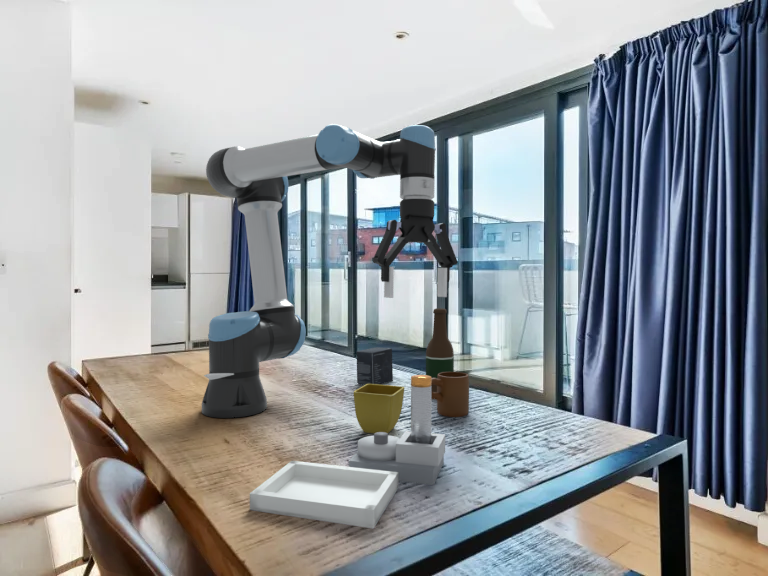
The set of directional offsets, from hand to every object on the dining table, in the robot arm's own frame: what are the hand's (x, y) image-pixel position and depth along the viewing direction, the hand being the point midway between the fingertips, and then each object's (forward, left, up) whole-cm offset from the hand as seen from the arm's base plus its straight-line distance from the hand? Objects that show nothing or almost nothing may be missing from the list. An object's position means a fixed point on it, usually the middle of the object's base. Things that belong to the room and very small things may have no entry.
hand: (416, 297), depth 110 cm
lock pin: (+6, -26, -26) cm, 37 cm away
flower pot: (-7, -6, -28) cm, 30 cm away
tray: (-5, -40, -28) cm, 49 cm away
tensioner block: (+2, -26, -28) cm, 38 cm away
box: (-22, +40, -28) cm, 54 cm away
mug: (+5, +10, -28) cm, 31 cm away
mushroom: (-45, -3, -28) cm, 54 cm away
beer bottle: (0, +29, -28) cm, 40 cm away
